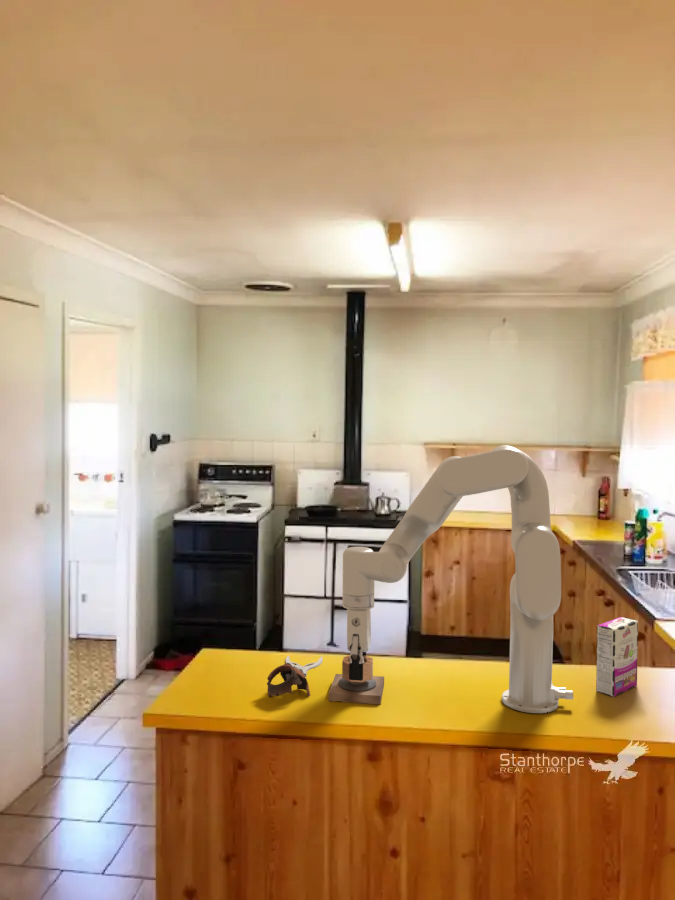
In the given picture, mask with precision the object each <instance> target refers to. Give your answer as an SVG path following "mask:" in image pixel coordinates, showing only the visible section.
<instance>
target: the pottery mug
mask: <svg viewBox="0 0 675 900" xmlns="http://www.w3.org/2000/svg"><path fill="white" fill-rule="evenodd" d="M277 675H280V676H281V678H282V680H283V682H281V683H278V684H273V683H272V681H273V680H274V678H276V676H277ZM266 679H267V682H266V685H267V694H268V695H267V696H268V697H269V698H271V697H272V696H273V697H279V695H280V696H282V695H285V694H287V693H289V694H293V689H292V688H293V686H296V689H297V690H298V689H301V690H304V691H305V692H306V693H307V694H306V695H307V697H308V698H310V697H311V691H310V686H309V682H308V680H307V677H306V678H305V676H304V674H303V673H302V672H301V671H300V670H298V669H296V668H294V667H293V666H292V665H291V664H290V663H286V662H285V663H284V664H282V665H280V666H277V667H276V668H274V669H272V671H271V672H270V673H269V674H268V676H267V678H266ZM309 696H310V697H309Z"/></svg>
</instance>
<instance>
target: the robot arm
mask: <svg viewBox="0 0 675 900" xmlns="http://www.w3.org/2000/svg"><path fill="white" fill-rule="evenodd" d="M548 487H549V486H548V483H547V480H546V477H545V474H544V473H543V471H542V469H541V468H540V466H539V465H538V464H537V463H536V461H535V460H534V459H533V458H532V457H531V456H529V454H526V453H525V452H523V450H520V449H518V448H516V447H514V446H511V445H506V444H504V445H503V444H502V445H498V446H496V447H495V448H493V449H492V450H491V451H488V452H481V453H479V454H478V453H477V454H474V455H469V456H468V455H467V456H463V457H462V456H459V455H453V456H452V455H451V456H448V457H446V458H445V459H443V461H442V462H440V464H439V465H438V467H437V468H436V469H435V471H434V472H433V473H432V475H431V476H430V478H429V479H428V480H427V482H426V483H425V484H424V486H423V487H422V489H421V490H420V492H419V493H418V495H416V497H415V498H414V500H413V501H412V503H411V504H410V505H409V507H408V508H407V510H406V512H405V514H404V515H403V516H402V519H401V520H400V521H399V522H398V524H397V525H396V527H395V528H394V529H393V531H391V533H390V535H389V536H388V537H387V538H386V540H385V542H384V543H383V545H382V546H381V547H380V549H379V551H374V550H373V549H372V548H369V547H365V546H351V547H347V548H346V549H344V551H343V553H342V607H343V608H344V609H346V646H347V648H346V649H347V650H348V651H349V656H350V662H349V679H350V680H359V681H362V680H363V663H362V655H366V656H367V652H369V650H370V646H371V642H372V631H371V630H372V628H371V627H372V625H371V624H372V621H371V619H372V618H371V615H372V614H371V609H373V608H375V582H381V583H386V584H393V583H398V582H399V581H401V580H402V579H403V578H404V576H405V575H406V572H407V570H408V569H407V567H408V564H409V562H410V561H411V560H412V559H413V557H414V555H415V554H416V552H417V551H418V550H419V549H420V547H421V546H422V545H423V543H424V542H425V541H426V540H427V539H428V538H429V537H430V536H431V535H432V534H434V533H436V532H437V531H438V530H439V529H440V528H441V527H442V526H443V525H444V523H445V522H446V521H447V519H448V517H449V516H450V515H451V513H452V512H453V510H454V509H455V508H456V506H457V505H458V503H459V502H460V501H461V499H462V498H463V497H465V496H472V495H477V494H478V495H479V494H482V493H486V492H492V491H497V490H503V489H508V492H509V496H510V498H509V499H510V508H511V509H510V510H511V536H510V537H511V538H510V545H511V549H512V551H513V553H514V563H515V564H514V565H515V573H513V575H512V577H511V579H510V584H509V601H510V602H509V605H510V606H509V608H510V609H509V610H510V622H509V624H510V626H509V628H510V630H509V633H510V634H509V671H508V673H509V674H508V677H509V678H508V689H507V690H505V691H503V692H502V694H501V701H502V703H503V704H504V705H505V706H507V707H508V708H510V709H512V710H516V711H519V712H522V713H526V714H547V712H548V713H551V712H554V711H556V710H557V709H559V708H558V707H559V700H560V699H562V700H563V699H564V700H570V701H572V700H574V692H573V690H567V689H566V687H564V686H563V687H562V686H561V687H557V686H555V685H553V653H554V652H553V651H554V650H553V648H554V647H553V646H554V615H555V614H556V613H557V611H558V610H559V608H560V605H561V600H562V568H561V567H562V564H561V563H562V560H561V547H560V543H559V540H558V538H557V536H556V535H555V533H554V532H553V531H552V526H551V509H550V497H549V495H550V493H549V488H548ZM358 653H360V656H359V655H358Z"/></svg>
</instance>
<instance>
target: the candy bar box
mask: <svg viewBox="0 0 675 900" xmlns="http://www.w3.org/2000/svg"><path fill="white" fill-rule="evenodd" d="M638 636H639V621H638V620H636V619H632V618H628V617H627V618H626V617H624V616H623V617H622V616H619V617H616V618H614V619H612V620H608V621H606V622H603V623H600V624H598V625H596V680H595V681H596V683H595V684H596V686H595V687H596V689H595V691H596V692H598V693H600V694H604V695H606V696H610V697H612V698H615V697H616V696H619V695H621V694H623V693H625V692H627V691H629V690H631V689H633V688H635V687H637V686H638V645H639V644H638V643H639V642H638V641H639V637H638Z"/></svg>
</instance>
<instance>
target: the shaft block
mask: <svg viewBox="0 0 675 900" xmlns="http://www.w3.org/2000/svg"><path fill="white" fill-rule="evenodd" d="M358 655H359V656H360V653H358ZM362 663H364V657H363V656H362ZM384 686H385V676H383V675H382V676H379V675H373V676H372V680H368V681H365V682H350V681H348V680H346V679H344V678H342V674H341V673H335V675H334V677H333V680H332V683H331V686H330V687H329V688H330V689H329V691H328V702H335V701H342V702H341V703H352V704H353V703H354V704H368V705H369V704H370V705H381V704H382V699H383V694H384V693H383V692H384Z"/></svg>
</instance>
